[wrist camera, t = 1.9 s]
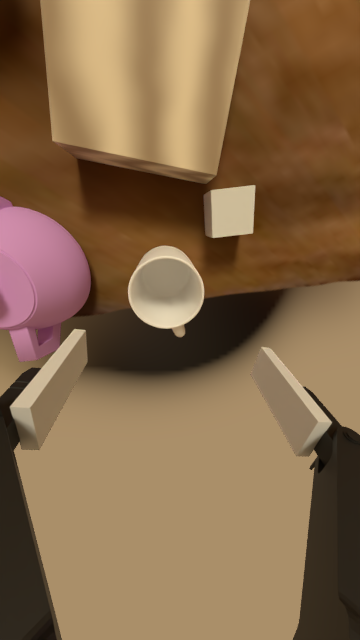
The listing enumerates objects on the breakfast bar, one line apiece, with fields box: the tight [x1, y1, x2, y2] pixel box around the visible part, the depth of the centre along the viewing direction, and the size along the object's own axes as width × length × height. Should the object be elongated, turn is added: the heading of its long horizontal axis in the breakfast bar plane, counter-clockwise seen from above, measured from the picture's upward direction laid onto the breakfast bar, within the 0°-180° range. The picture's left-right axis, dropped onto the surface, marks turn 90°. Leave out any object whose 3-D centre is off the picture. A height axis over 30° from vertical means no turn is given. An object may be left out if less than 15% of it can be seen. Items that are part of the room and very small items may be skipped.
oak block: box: [40, 0, 250, 184], centre depth 20 cm, size 16×16×6 cm
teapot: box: [0, 196, 91, 362], centre depth 24 cm, size 22×16×12 cm
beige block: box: [204, 185, 255, 238], centre depth 26 cm, size 5×5×5 cm
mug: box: [128, 246, 204, 337], centre depth 28 cm, size 12×8×10 cm
